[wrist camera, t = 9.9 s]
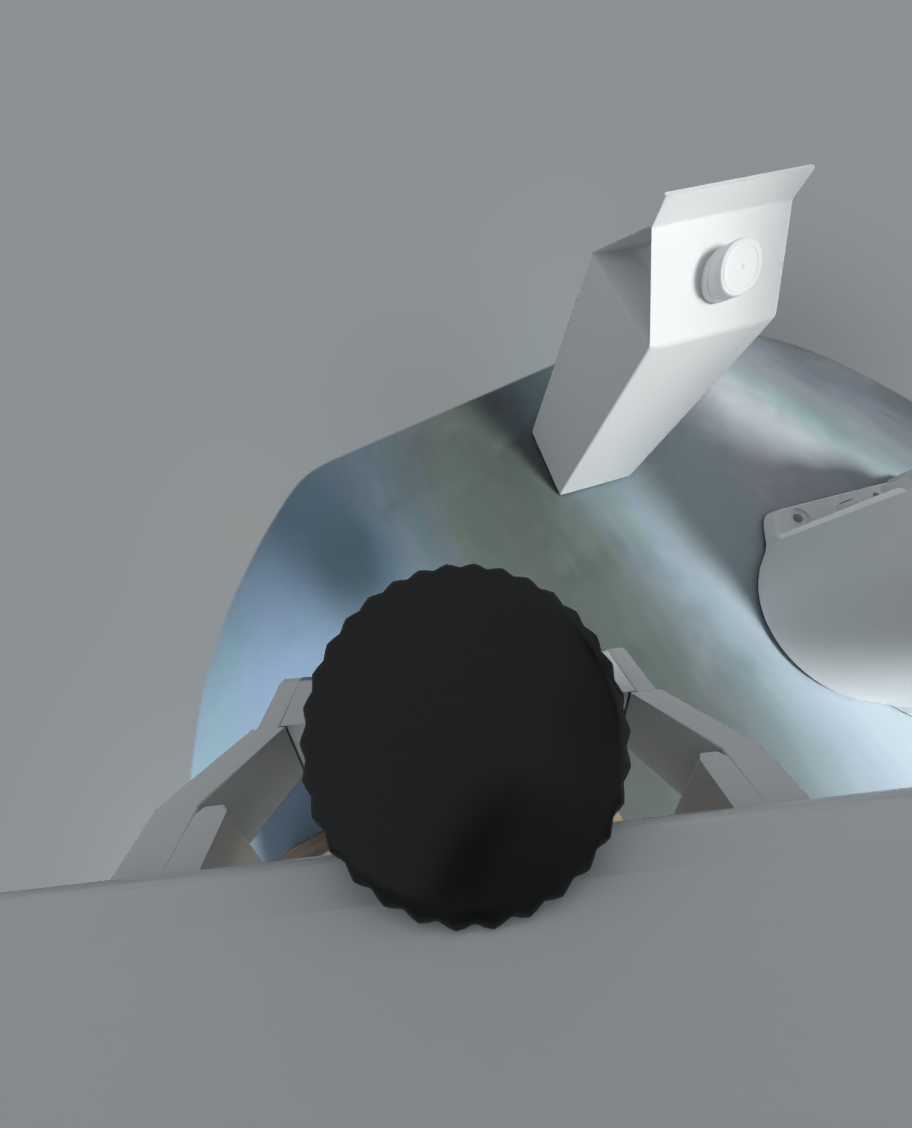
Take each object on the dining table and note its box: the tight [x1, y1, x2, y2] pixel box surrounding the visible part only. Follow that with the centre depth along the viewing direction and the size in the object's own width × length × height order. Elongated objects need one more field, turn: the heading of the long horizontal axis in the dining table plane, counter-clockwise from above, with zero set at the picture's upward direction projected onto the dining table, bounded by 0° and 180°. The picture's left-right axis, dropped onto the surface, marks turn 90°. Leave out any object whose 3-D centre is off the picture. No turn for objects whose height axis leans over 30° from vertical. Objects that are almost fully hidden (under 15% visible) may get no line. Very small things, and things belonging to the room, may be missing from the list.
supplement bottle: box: [299, 564, 631, 931], centre depth 10 cm, size 7×7×12 cm
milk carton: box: [532, 164, 815, 495], centre depth 23 cm, size 7×7×19 cm
